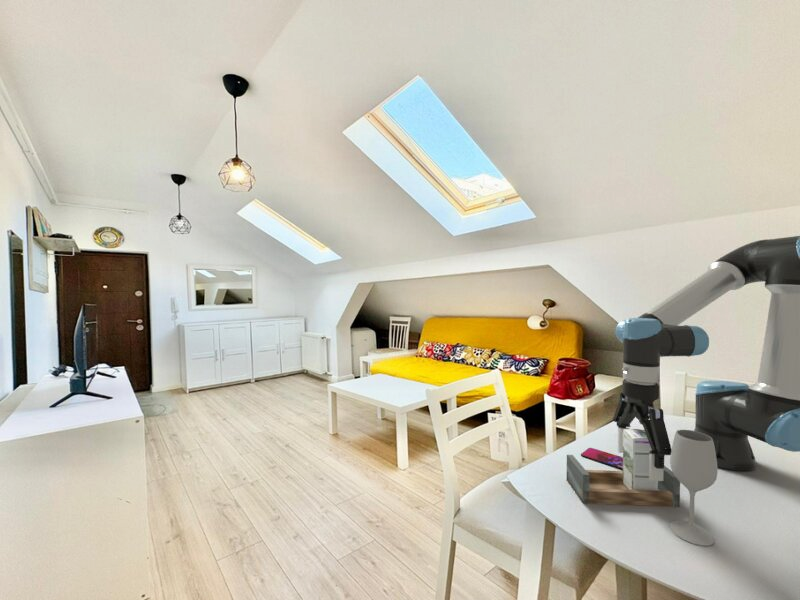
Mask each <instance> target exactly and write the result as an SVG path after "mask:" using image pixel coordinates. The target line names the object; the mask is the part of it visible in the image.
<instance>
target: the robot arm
mask: <svg viewBox="0 0 800 600" xmlns="http://www.w3.org/2000/svg"><path fill="white" fill-rule="evenodd" d="M760 282H764V287H765V289H767V290H768V291H769V292H770V293H771V296H770V302H769V308H768V315H767V320H766V327H765V332H764V339H763V345H762V352H761V358H760V362H759V363H760V364H759V369H758V376H757V381H756V382H755V383H753V384H751V385H749V384H747V383H746V382H745V383H743V382H738V381H728V380H703V381H702V380H701V381H700V382H698V383H697V385H696V390H695V391H696V392H695V421H694V422H695V424H694V425H695V426H694V430H693V431H697V432H700V433H704V434H706V435H708V436H710V437H711V438H712V439H713V442H714V446H715V451H716V458H717V467H718V468H719V469H724V470H730V471H737V472H748V471H749V472H750V471H753V470H754V469H756V464H757V463H756V460H757V459H756V457H755V455H754V452H753V448H752V446H751V444H750V441H749V439H748V438H749V437H750V438H753V439H756V440H758V441H761V442H763V443H766V444H768V445H769V446H771V447H774V448H778V449H779V448H780V449H782V450H785V451H788V452H792V453H794V452H796V453H797V452H798V453H799V452H800V235H794V236H787V237H780V238H771V239H761V240H755V241H752V242H749V243H747V244H744V245H742V246H739V247H737V248H736V249H734V250H732V251H730V252H728V253H727V254H724V255H723V256H721V257H720V258H718V259H716V260H715V261H714V262H712V263H711V264H710V265H709V266H708V268H707V271H705V272H704V273H703V274H701V275H700V276H698V277H697V278H696V277H695V279H694V280H692V281H691V282H689V283H687V284H686V285H685V286H683V287H682V288H680V289H679V290H677V291H676V292H674V293H672V294H671V295H670V296H668V297H666V298H665V299H663V300H662V301H661V302H659V303H658V304H656V305H655V306H653V307H652V308H651V309H649V310H647V311H646V312H644V313H643V314H641V315H640V316H638V317H630V318H626V319H622V320H621V321H619V322H618V323H617V325H616V327H615V336H616V339H617V340H618V342H619V341H620V343H622V351H623V352H622V353H623V354H622V359H623V360H622V368H621V370H622V377H623V380H622V384H621V385H622V386H621V387H622V391H620V393H619V400H618V403H617V406H616V409H615V412H614V415H613V417H612V420H613V422H614V423H616V427H617V428H618V429H617V452H618V453H621V454H623V429H630V428H631V424H632V423H633V421H634V419H635V418H636V419H637V420H638V422H639V424H640V425H642V427H643V430H645V433H646V435H647V438H648V441H649V444H650V446H651V449H652V450H651V451H650V452H649V453H650V454H649V479H650V480H651V481H663V473H664V466H665V456H671V450H672V445H671V442H670V438H669V435H668V431H667V427H666V423H665V417H664V410H663V409H662V408H655V406H654V402H655V401H657V400H659V398H660V385H659V382H660V372H661V371H660V370H661V367H660V366H661V358H664V357H693V356H694V357H695V356H701V355H702V354H704V353H706V352H707V350H708V349H709V347H710V338H709V334H708V333H707V332H706V331H705V329H704V328H702V327H700V326H698V325H687V324H684V325H680V324H682V323H684V322H685V321H687V320H688V319H689V318H691V317H693V316H694V315H696V314H697V313H698V312H701V310H703V309H705V308H706V307H708V306H710V304H712V303H714V302H715V301H717V299H719V298H721V297H722V296H724V295H725V294H727V293H728V292H729V291H736V290H739V289H742V288H743V287H744V286H746V285H748V284H752V283H760Z"/></svg>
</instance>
